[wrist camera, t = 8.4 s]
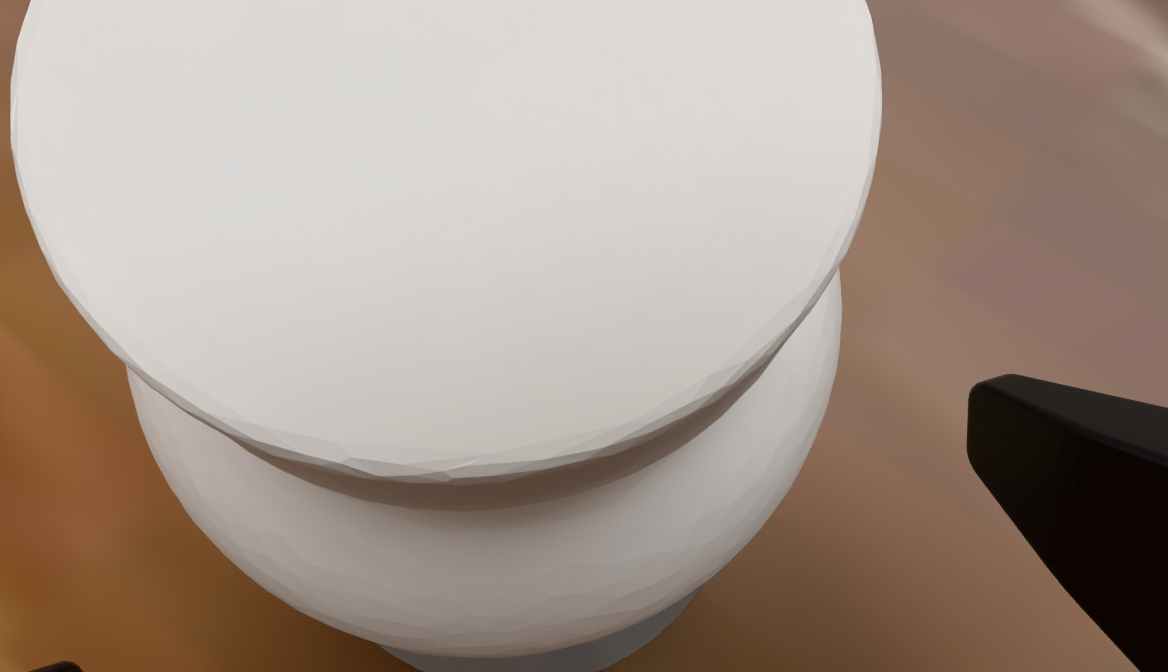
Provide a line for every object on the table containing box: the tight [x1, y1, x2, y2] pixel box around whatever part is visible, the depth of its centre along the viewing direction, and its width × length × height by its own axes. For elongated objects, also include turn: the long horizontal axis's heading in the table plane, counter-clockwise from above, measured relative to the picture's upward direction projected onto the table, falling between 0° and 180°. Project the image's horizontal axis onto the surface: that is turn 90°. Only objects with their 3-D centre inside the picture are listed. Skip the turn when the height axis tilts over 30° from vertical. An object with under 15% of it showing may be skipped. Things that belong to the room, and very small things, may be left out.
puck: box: [376, 584, 703, 672], centre depth 18 cm, size 9×9×3 cm
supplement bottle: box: [10, 0, 882, 658], centre depth 11 cm, size 7×7×13 cm
